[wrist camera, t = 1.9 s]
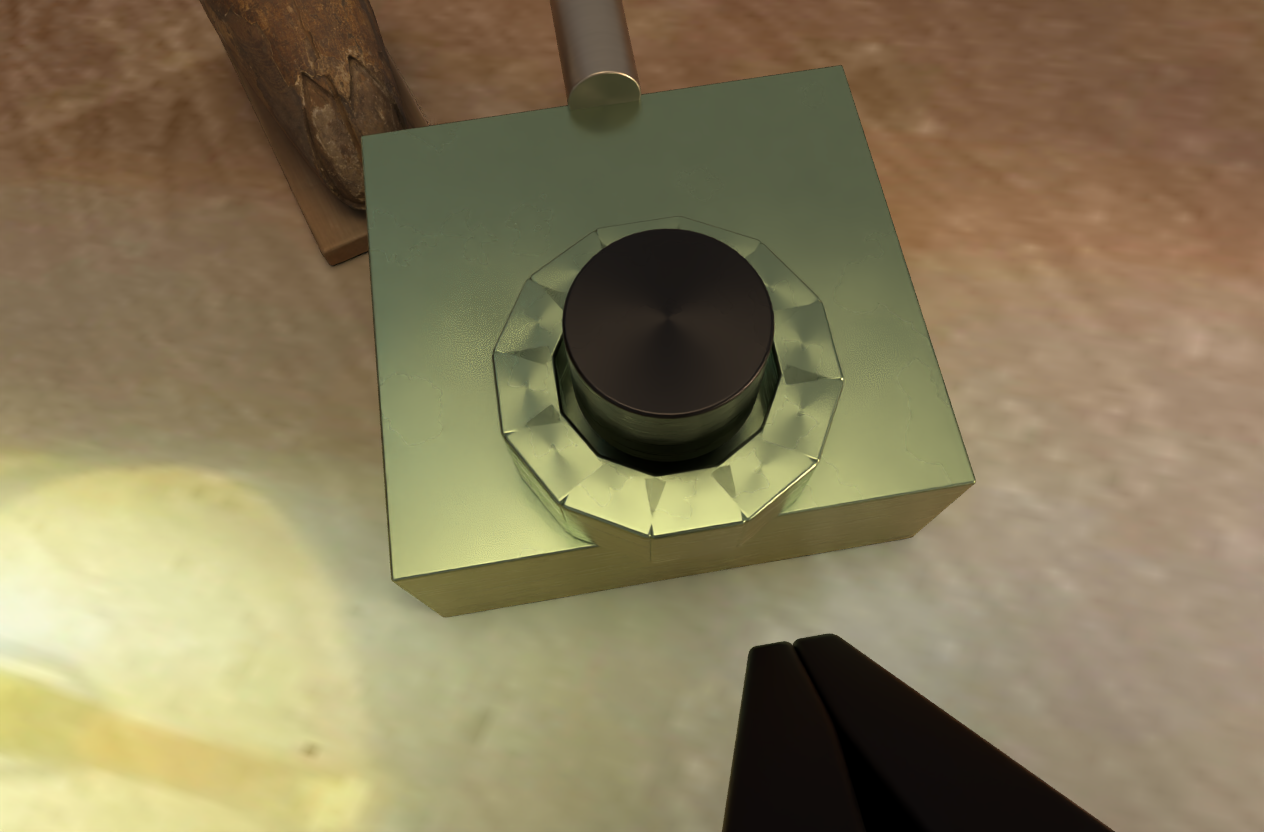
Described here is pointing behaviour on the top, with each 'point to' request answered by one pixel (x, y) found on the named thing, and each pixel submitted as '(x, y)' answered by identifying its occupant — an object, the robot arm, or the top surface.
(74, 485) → the top surface
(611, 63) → the spout
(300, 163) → the figurine
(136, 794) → the top surface
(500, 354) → the push button base
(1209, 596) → the top surface
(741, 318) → the black short cylinder
